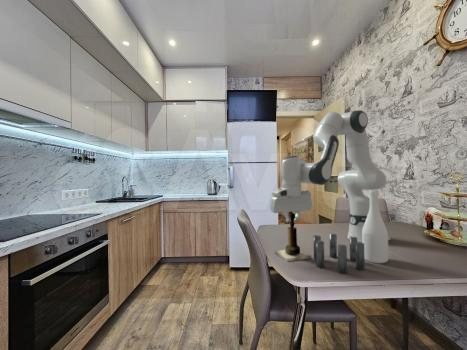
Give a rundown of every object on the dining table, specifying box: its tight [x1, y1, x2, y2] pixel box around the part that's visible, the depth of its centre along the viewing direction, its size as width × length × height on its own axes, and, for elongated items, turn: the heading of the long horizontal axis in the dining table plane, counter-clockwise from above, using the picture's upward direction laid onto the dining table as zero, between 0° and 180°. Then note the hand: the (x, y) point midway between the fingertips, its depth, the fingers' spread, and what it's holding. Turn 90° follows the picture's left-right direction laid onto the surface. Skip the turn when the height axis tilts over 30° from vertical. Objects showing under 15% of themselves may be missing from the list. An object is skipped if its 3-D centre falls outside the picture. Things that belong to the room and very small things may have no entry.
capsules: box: [313, 233, 366, 275], centre depth 97 cm, size 20×18×10 cm
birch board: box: [274, 249, 312, 262], centre depth 108 cm, size 12×11×1 cm
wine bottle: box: [361, 189, 389, 264], centre depth 101 cm, size 10×10×30 cm
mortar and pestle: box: [284, 212, 301, 254], centre depth 108 cm, size 7×6×18 cm
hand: (292, 221), depth 108 cm, fingers closed on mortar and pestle, 2 cm apart
